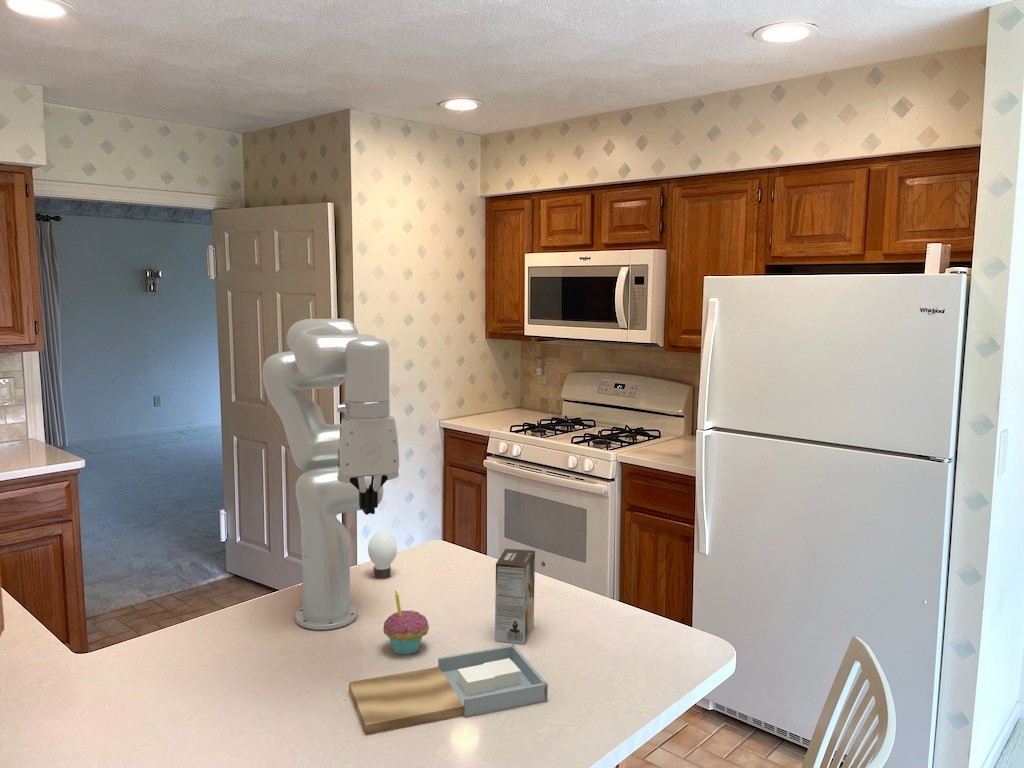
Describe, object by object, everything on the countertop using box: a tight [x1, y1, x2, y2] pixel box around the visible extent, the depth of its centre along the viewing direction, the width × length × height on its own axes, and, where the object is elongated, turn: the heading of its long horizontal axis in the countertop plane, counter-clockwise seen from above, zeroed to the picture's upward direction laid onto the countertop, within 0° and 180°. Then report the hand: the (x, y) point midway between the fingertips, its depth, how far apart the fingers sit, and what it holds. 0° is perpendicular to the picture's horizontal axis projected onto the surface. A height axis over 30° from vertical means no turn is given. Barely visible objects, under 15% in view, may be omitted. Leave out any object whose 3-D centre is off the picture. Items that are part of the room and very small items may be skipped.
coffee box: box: [494, 548, 536, 645], centre depth 158 cm, size 9×6×16 cm
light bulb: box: [367, 530, 398, 580], centre depth 187 cm, size 7×7×11 cm
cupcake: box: [383, 590, 430, 655], centre depth 151 cm, size 9×8×12 cm
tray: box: [437, 644, 549, 718], centre depth 138 cm, size 15×15×3 cm
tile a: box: [457, 664, 495, 696], centre depth 137 cm, size 5×5×2 cm
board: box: [348, 666, 464, 736], centre depth 132 cm, size 14×16×2 cm
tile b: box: [483, 658, 521, 689], centre depth 139 cm, size 5×5×2 cm
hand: (368, 512), depth 140 cm, fingers closed
